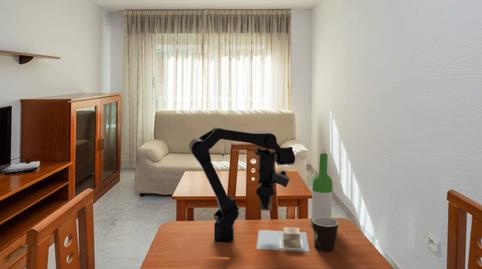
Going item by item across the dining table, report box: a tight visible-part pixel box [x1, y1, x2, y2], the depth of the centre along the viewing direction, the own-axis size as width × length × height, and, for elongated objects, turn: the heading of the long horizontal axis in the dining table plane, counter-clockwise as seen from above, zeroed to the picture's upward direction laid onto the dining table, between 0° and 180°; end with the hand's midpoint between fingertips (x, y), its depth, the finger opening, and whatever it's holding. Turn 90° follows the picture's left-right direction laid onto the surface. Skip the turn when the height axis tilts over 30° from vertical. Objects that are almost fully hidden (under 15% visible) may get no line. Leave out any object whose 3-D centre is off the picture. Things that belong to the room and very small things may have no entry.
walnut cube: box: [259, 195, 273, 212], centre depth 133 cm, size 4×4×4 cm
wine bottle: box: [310, 152, 334, 228], centre depth 140 cm, size 8×8×30 cm
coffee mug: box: [312, 217, 339, 253], centre depth 124 cm, size 12×9×10 cm
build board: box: [256, 229, 311, 252], centre depth 129 cm, size 18×16×1 cm
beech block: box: [282, 226, 301, 248], centre depth 125 cm, size 6×6×5 cm
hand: (265, 206), depth 133 cm, fingers closed on walnut cube, 4 cm apart
